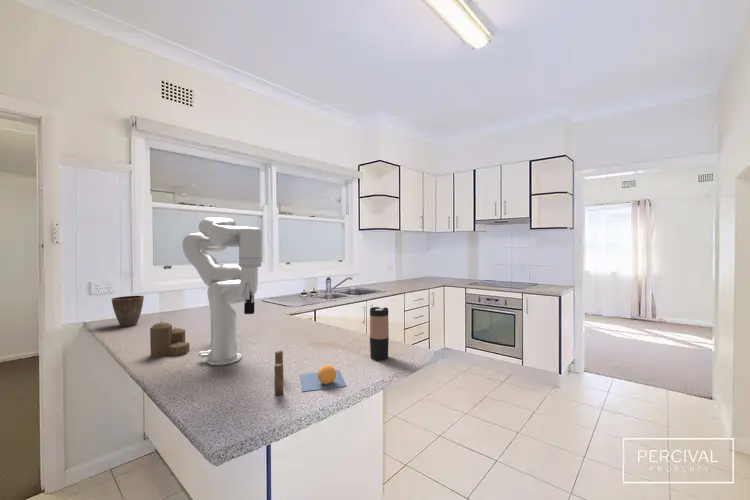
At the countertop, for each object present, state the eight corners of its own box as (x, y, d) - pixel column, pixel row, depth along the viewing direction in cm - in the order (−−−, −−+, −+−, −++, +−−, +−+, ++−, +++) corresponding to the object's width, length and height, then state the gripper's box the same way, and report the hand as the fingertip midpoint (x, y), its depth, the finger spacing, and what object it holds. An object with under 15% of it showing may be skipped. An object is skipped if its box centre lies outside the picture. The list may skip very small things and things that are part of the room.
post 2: (274, 396, 101) (274, 367, 101) (274, 392, 104) (274, 364, 104) (283, 395, 102) (283, 366, 102) (283, 391, 105) (283, 363, 104)
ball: (339, 376, 108) (327, 391, 107) (339, 370, 114) (328, 384, 113) (325, 364, 108) (313, 379, 107) (326, 359, 114) (314, 373, 113)
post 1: (275, 379, 114) (274, 353, 114) (275, 376, 117) (275, 351, 116) (283, 378, 115) (282, 352, 115) (283, 375, 117) (282, 350, 117)
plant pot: (104, 328, 185) (104, 299, 185) (128, 321, 200) (128, 295, 200) (128, 329, 183) (127, 300, 182) (150, 322, 197) (150, 295, 197)
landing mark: (302, 391, 105) (302, 391, 105) (299, 375, 118) (299, 374, 118) (346, 386, 108) (346, 385, 108) (339, 370, 122) (339, 370, 122)
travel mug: (375, 362, 130) (375, 311, 130) (366, 356, 137) (366, 307, 137) (392, 359, 134) (392, 309, 133) (383, 353, 141) (382, 306, 140)
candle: (153, 360, 134) (153, 323, 133) (147, 352, 144) (147, 317, 143) (191, 352, 143) (191, 317, 142) (183, 345, 153) (183, 313, 152)
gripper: (242, 260, 125) (241, 308, 126) (234, 264, 110) (234, 319, 111) (263, 260, 127) (262, 308, 128) (258, 264, 112) (257, 318, 113)
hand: (249, 313), depth 119 cm, fingers closed
